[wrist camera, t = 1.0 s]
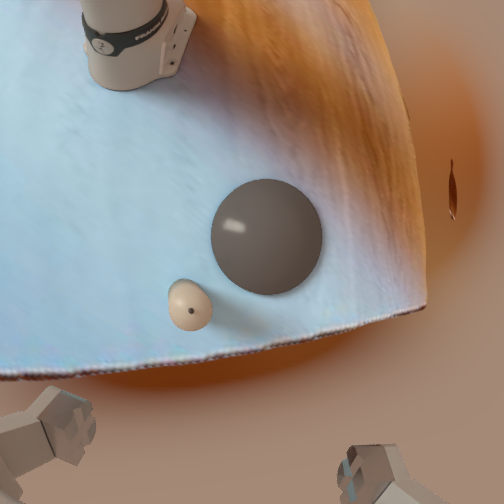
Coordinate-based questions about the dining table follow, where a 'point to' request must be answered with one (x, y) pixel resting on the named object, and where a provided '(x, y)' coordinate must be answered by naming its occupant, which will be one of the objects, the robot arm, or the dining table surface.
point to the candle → (188, 305)
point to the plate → (266, 236)
